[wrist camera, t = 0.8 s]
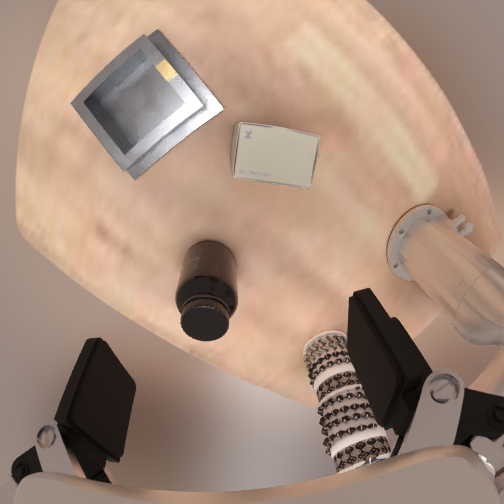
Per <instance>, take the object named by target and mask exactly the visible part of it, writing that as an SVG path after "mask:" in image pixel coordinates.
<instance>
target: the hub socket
mask: <svg viewBox="0 0 504 504" xmlns="http://www.w3.org/2000/svg"><path fill="white" fill-rule="evenodd" d="M71 104H72V106H73V107H74V108H75V110H76V111H77V112H78V114H79V115H80V117H81V118H82V119H83V121H84V122H85V123H86V124H87V126H88V127H89V128H90V130H91V131H92V132H93V134H94V135H95V136H96V138H97V139H98V140H99V141H100V143H101V144H102V145H103V147H104V148H105V149H106V150H107V152H108V153H109V154H110V155H111V157H112V158H113V159H114V160H115V162H116V163H117V164H118V165H119V167H120V168H121V169H122V170H123V172H124V171H126V170H127V171H128V172H129V174H130V175H131V176H132V177H133V179H134V180H136V179H137V178H138V177H139V176H140V175H142V174H143V173H144V172H145V171H146V170H147V169H148V168H149V167H151V166H152V165H153V164H154V163H155V162H156V161H158V160H159V159H160V158H161V157H162V156H164V155H165V154H166V153H167V152H168V151H170V150H171V149H172V148H173V147H175V146H176V145H177V144H178V143H180V142H181V141H182V140H183V139H185V138H186V137H187V136H188V135H190V134H191V133H192V132H194V131H195V130H196V129H198V128H199V127H200V126H202V125H203V124H204V123H206V122H207V121H208V120H210V119H211V118H213V117H214V116H215V115H217V114H218V113H220V112H221V111H223V110H224V108H223V107H222V106H221V105H220V103H219V102H218V101H217V99H216V98H215V97H214V96H213V94H212V93H211V92H210V91H209V89H208V88H207V87H206V86H205V84H204V83H203V82H202V81H201V79H200V78H199V77H198V76H197V74H196V73H195V72H194V71H193V70H192V68H191V67H190V66H189V65H188V64H187V62H186V61H185V60H184V59H183V58H182V57H181V55H180V54H179V53H178V52H177V51H176V50H175V48H174V47H173V46H172V45H171V44H170V43H169V41H168V40H167V39H166V38H165V37H164V36H163V35H162V34H161V32H160V31H159V30H158V29H157V30H156V31H155V32H153V33H152V34H151V35H149V36H148V37H147V36H146V35H145V34H143V35H142V36H141V37H139V38H138V39H137V40H136V41H134V42H133V43H132V44H131V45H130V46H128V47H127V48H126V49H125V50H124V51H122V52H121V53H120V54H119V55H118V56H117V57H116V58H115V59H113V60H112V61H111V62H110V63H109V64H108V65H107V66H106V67H105V68H104V69H103V70H102V71H101V72H100V73H99V74H98V75H96V76H95V77H94V78H93V80H92V81H91V82H90V83H89V84H88V85H87V86H86V87H85V88H84V89H83V90H82V91H81V92H80V93H79V94H78V95H77V96H76V98H75V99H74V100H73V101H72V102H71Z"/></svg>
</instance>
